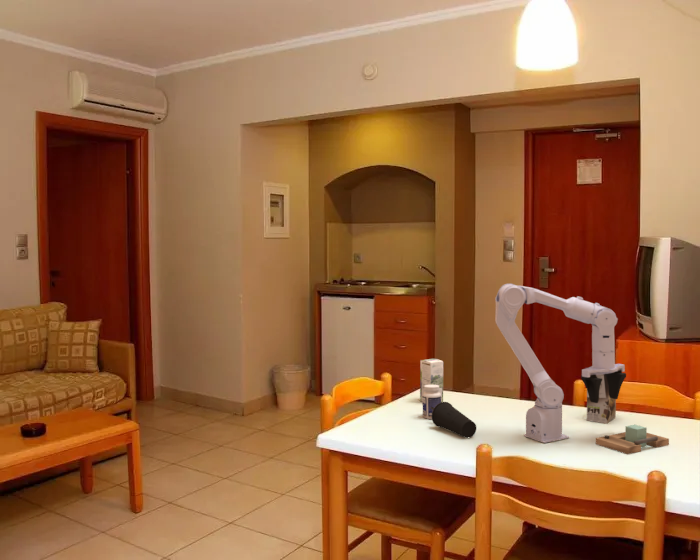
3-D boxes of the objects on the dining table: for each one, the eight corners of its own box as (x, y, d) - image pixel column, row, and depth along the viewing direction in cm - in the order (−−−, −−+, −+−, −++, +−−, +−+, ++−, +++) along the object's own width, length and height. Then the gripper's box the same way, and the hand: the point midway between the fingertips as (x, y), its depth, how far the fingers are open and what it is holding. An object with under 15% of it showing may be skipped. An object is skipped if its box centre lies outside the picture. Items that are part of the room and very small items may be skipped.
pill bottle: (444, 416, 202) (444, 384, 202) (436, 420, 198) (436, 388, 197) (427, 414, 206) (427, 383, 205) (419, 418, 201) (419, 386, 200)
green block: (637, 448, 168) (637, 429, 167) (625, 445, 171) (625, 426, 171) (646, 446, 169) (646, 427, 169) (634, 443, 173) (634, 424, 172)
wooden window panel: (627, 454, 163) (627, 444, 163) (595, 444, 172) (595, 434, 172) (668, 444, 171) (669, 434, 170) (636, 435, 179) (636, 426, 179)
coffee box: (608, 424, 192) (608, 369, 191) (586, 420, 195) (586, 367, 195) (616, 417, 199) (616, 365, 198) (595, 414, 203) (595, 363, 202)
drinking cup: (459, 447, 178) (423, 423, 196) (482, 437, 181) (444, 414, 199) (455, 422, 176) (418, 400, 194) (478, 412, 179) (439, 392, 197)
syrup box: (432, 399, 226) (432, 358, 226) (443, 402, 221) (443, 360, 221) (419, 401, 223) (419, 359, 223) (430, 404, 218) (430, 362, 218)
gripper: (596, 355, 169) (597, 406, 170) (633, 350, 176) (634, 399, 177) (575, 352, 176) (576, 401, 176) (612, 347, 182) (613, 394, 183)
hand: (604, 400), depth 177 cm, fingers open, 7 cm apart
